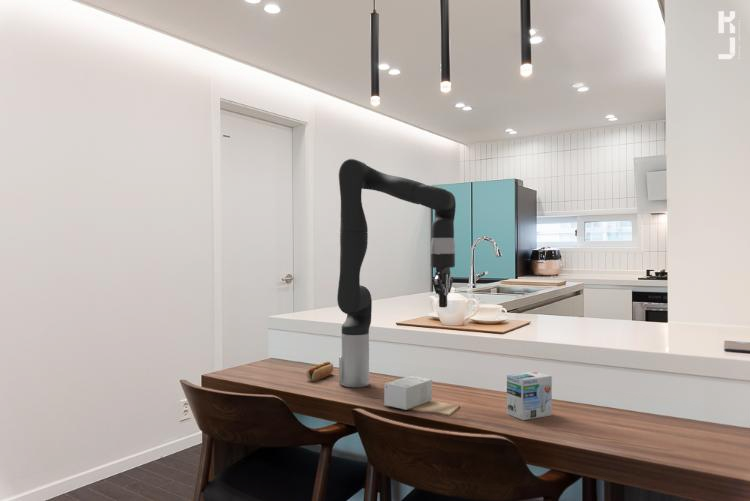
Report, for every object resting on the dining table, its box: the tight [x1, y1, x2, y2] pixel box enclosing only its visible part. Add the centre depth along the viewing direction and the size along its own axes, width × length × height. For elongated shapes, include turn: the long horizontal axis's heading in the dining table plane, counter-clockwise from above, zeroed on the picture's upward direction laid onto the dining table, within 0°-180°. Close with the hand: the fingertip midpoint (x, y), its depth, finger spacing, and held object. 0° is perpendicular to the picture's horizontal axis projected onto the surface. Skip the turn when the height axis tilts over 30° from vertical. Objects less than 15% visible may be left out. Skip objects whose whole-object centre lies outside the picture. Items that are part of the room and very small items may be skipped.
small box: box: [383, 375, 433, 411], centre depth 155 cm, size 8×6×13 cm
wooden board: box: [383, 400, 461, 416], centre depth 153 cm, size 20×9×1 cm, turn 62°
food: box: [306, 361, 334, 382], centre depth 189 cm, size 14×6×5 cm, turn 157°
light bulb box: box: [506, 371, 553, 421], centre depth 145 cm, size 11×7×11 cm, turn 117°
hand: (443, 307), depth 168 cm, fingers closed
